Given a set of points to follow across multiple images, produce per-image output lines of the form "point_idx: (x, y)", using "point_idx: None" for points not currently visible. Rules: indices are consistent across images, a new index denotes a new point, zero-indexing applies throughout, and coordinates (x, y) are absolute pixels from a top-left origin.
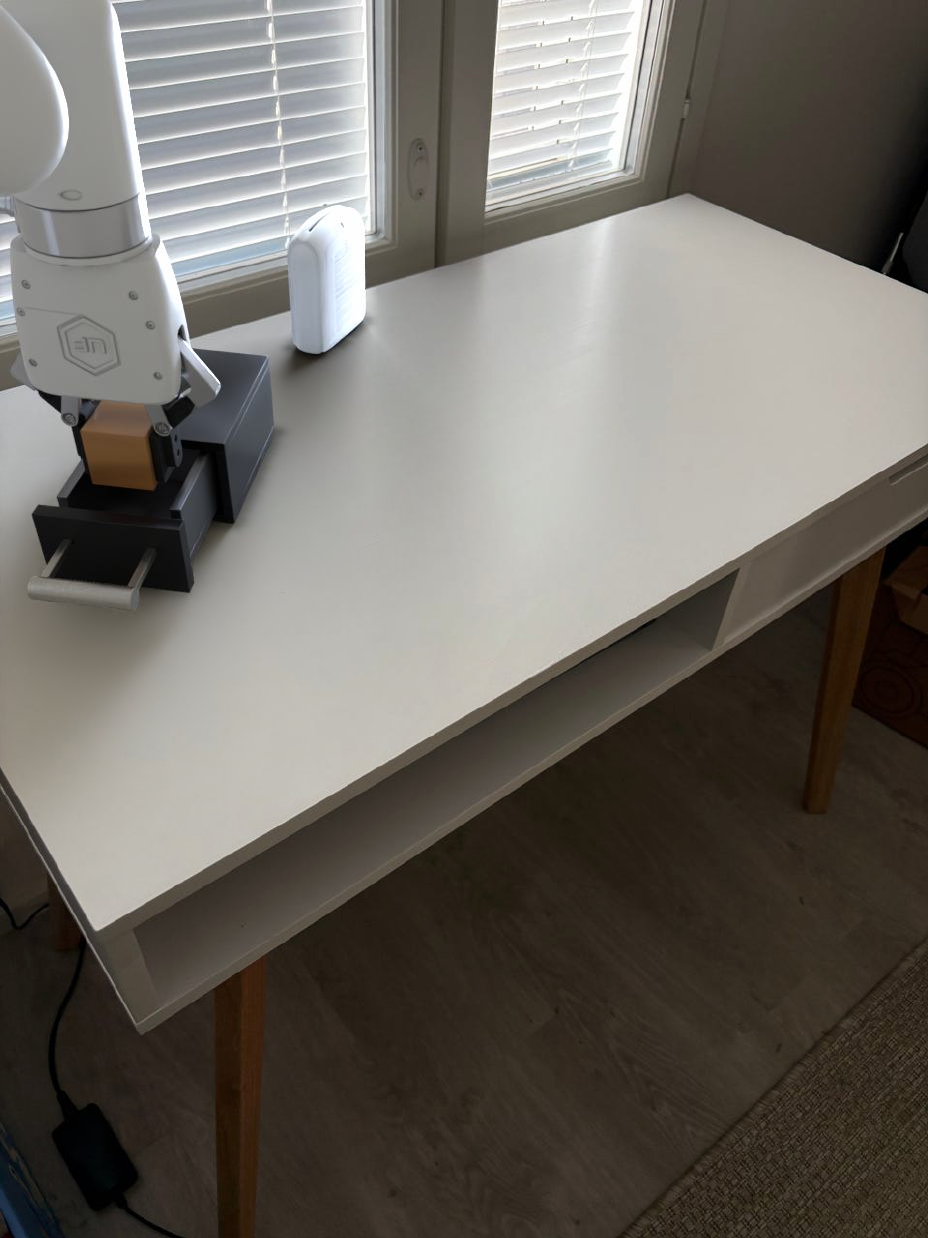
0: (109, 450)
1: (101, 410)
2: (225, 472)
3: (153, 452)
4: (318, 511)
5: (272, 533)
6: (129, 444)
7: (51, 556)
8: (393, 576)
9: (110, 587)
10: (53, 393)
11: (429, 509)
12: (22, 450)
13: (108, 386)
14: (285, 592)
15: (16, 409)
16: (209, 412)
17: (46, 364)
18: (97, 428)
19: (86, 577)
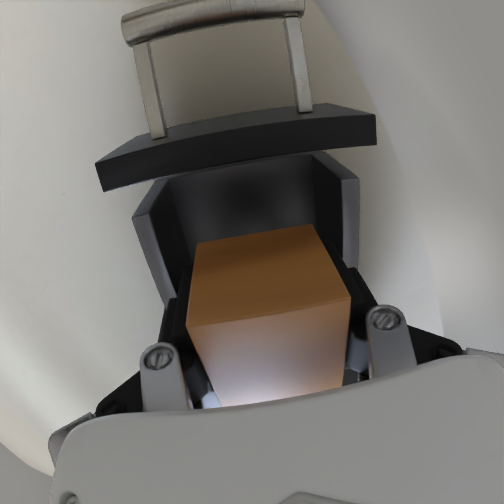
0: (276, 278)
1: (331, 362)
2: (163, 324)
3: (187, 304)
4: (110, 314)
5: (127, 273)
6: (225, 302)
7: (329, 106)
8: (8, 255)
9: (158, 16)
10: (441, 362)
11: (44, 337)
12: (427, 294)
13: (246, 461)
14: (61, 195)
15: (439, 331)
16: (217, 399)
17: (484, 447)
18: (314, 317)
19: (277, 108)
